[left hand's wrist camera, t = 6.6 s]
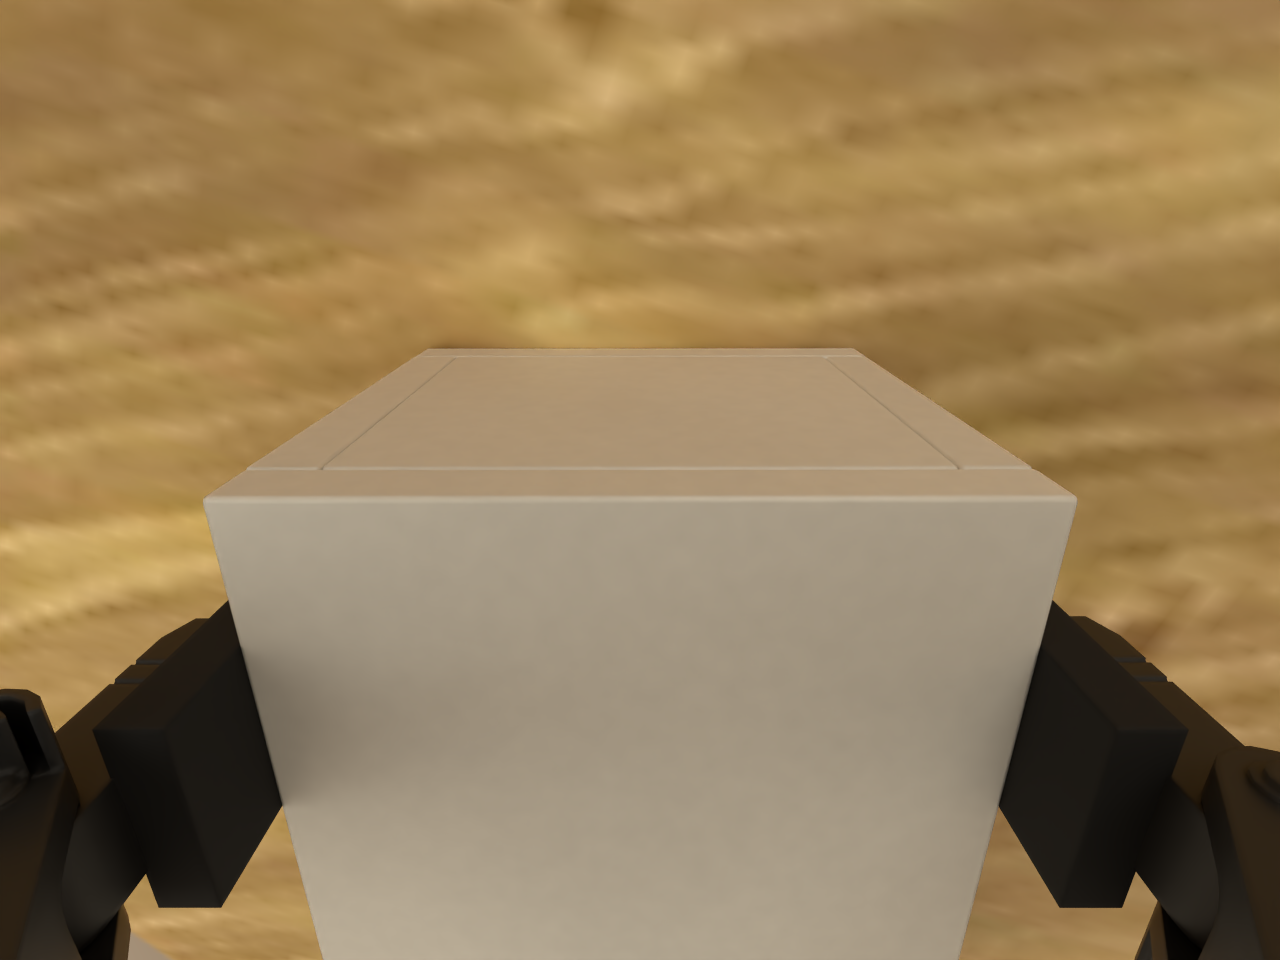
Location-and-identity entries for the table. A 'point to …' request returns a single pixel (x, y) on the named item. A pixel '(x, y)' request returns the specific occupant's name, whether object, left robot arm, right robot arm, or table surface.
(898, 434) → the cabinet
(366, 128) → the table surface
